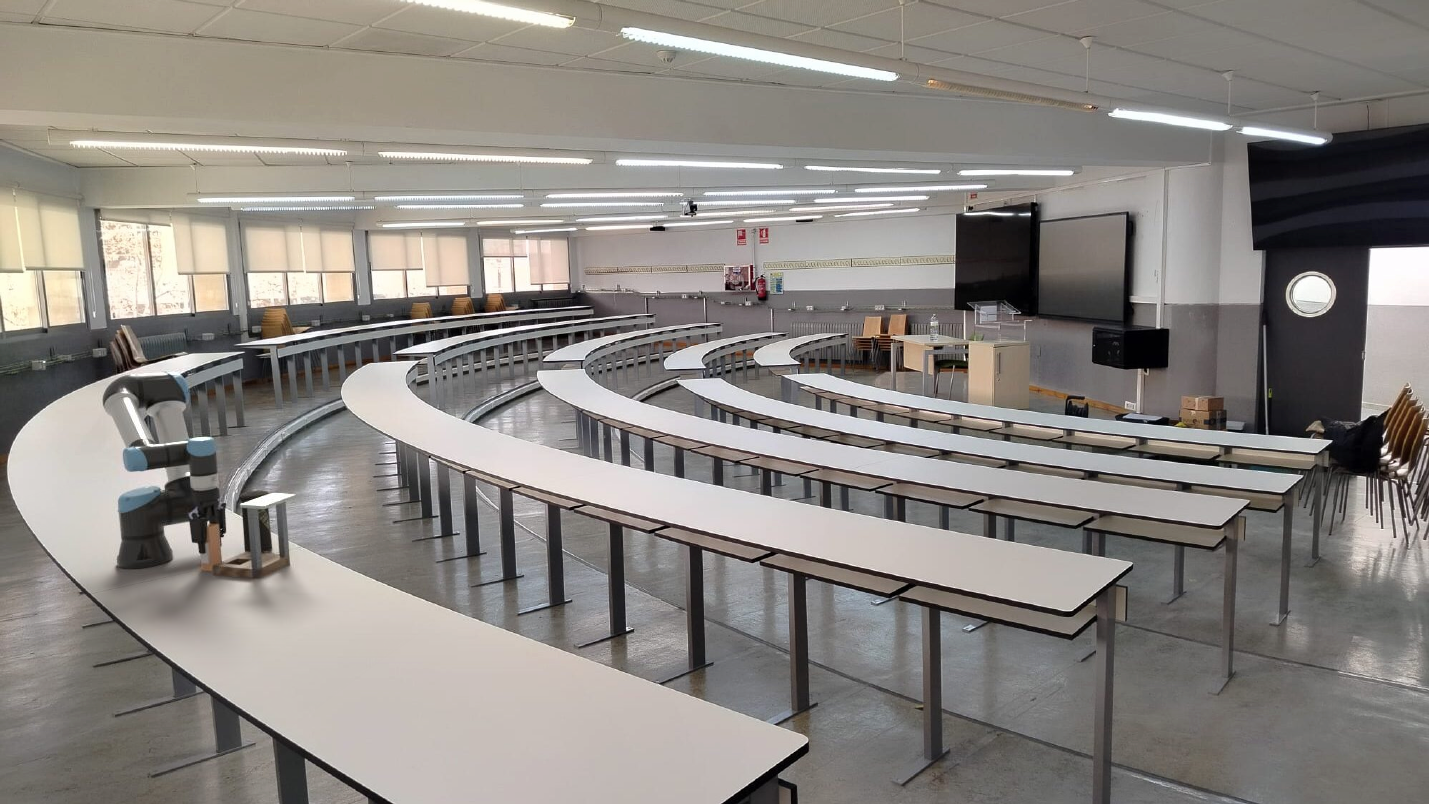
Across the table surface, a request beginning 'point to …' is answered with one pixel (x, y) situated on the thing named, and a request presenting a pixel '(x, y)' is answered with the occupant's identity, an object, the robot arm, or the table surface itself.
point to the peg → (213, 546)
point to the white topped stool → (253, 524)
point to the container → (263, 522)
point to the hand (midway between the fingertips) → (211, 560)
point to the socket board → (249, 565)
